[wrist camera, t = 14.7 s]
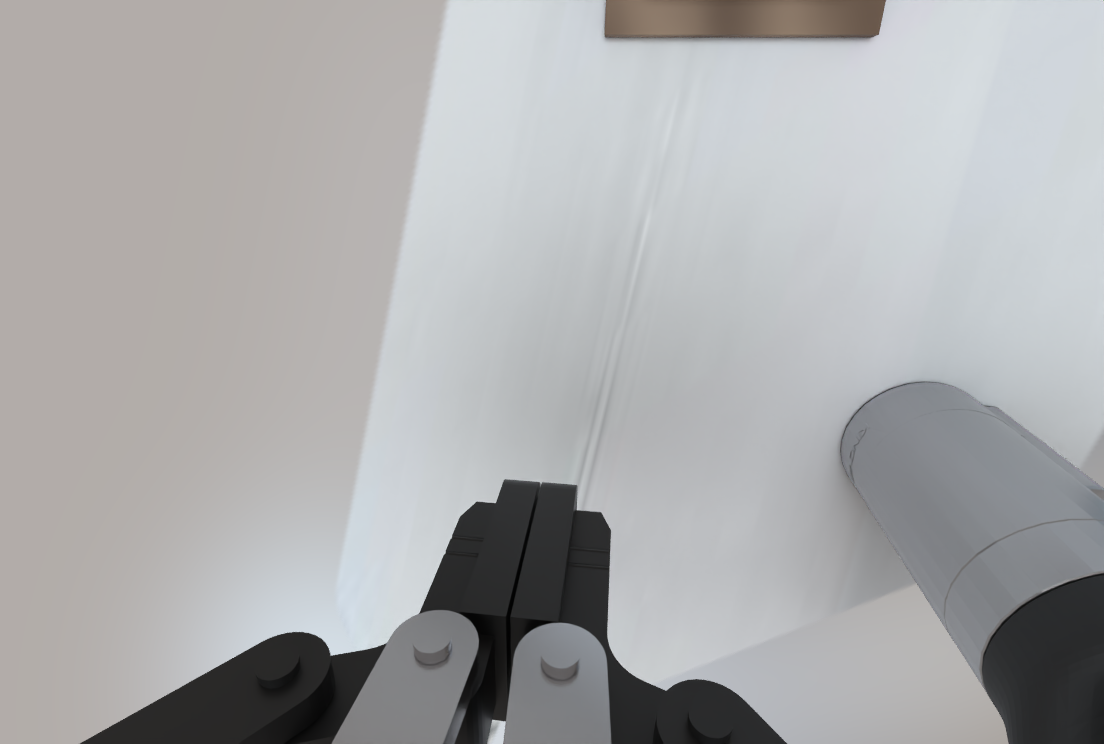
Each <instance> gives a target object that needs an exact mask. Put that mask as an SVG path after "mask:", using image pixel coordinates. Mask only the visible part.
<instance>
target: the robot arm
mask: <svg viewBox="0 0 1104 744" xmlns="http://www.w3.org/2000/svg"><path fill="white" fill-rule="evenodd" d="M841 456H842V463H843V466H844V468H845V470H846V472H847V474H848V476H849V478H850V479H851V481H852V482H853V484H854V485H855V487H856V489H857V490H858V492H859V493H860V495H861V496H862V498H863V500H864V501H865V503H866V504H867V506H868V508H869V509H870V511H871V513H872V514H873V516H874V517H875V519H876V520H877V522H878V524H879V525H880V527H881V528H882V530H883V531H884V533H885V534H886V536H887V538H888V539H889V541H890V542H891V544H892V545H893V547H894V549H895V550H896V552H897V553H898V555H899V556H900V558H901V560H902V561H903V563H904V564H905V566H906V567H907V569H908V570H909V572H910V574H911V575H912V577H913V578H914V580H915V581H916V583H917V585H918V586H919V588H920V589H921V591H922V592H923V594H924V595H925V597H926V599H927V600H928V602H929V603H930V605H931V606H932V608H933V610H934V611H935V613H936V614H937V616H938V617H939V619H940V621H941V622H942V624H943V625H944V627H945V628H946V630H947V632H948V633H949V635H950V636H951V638H952V639H953V641H954V642H955V643H956V645H957V647H958V648H959V650H960V652H961V653H962V655H963V656H964V657H965V659H966V661H967V662H968V664H969V666H970V667H971V669H972V670H973V672H974V673H975V675H976V677H977V678H978V680H979V681H980V683H981V684H982V686H983V688H984V689H985V690H986V692H987V694H988V696H989V697H990V699H991V701H992V702H993V704H994V705H995V707H996V708H997V710H998V712H999V714H1000V715H1001V717H1002V719H1003V721H1004V724H1005V727H1006V732H1007V737H1008V742H1009V744H1104V488H1103V487H1101V486H1100V485H1098V484H1097V483H1096V482H1095V481H1093V480H1092V479H1091V478H1090V477H1088V476H1087V475H1086V474H1084V473H1083V472H1082V471H1080V470H1079V469H1078V468H1076V467H1075V466H1074V465H1072V464H1071V463H1070V462H1069V461H1067V460H1066V459H1065V458H1063V457H1062V456H1061V455H1059V454H1058V453H1057V452H1055V451H1054V450H1053V449H1051V448H1050V447H1049V446H1047V445H1046V444H1045V443H1044V442H1042V441H1041V440H1040V439H1038V438H1037V437H1036V436H1034V435H1033V434H1032V433H1030V432H1029V431H1028V430H1026V429H1025V428H1024V427H1022V426H1021V425H1020V424H1019V423H1017V422H1016V421H1015V420H1013V419H1012V418H1011V417H1009V416H1008V415H1007V414H1005V413H1004V412H1003V411H1001V410H1000V409H999V408H997V407H987V406H983V405H982V404H980V403H979V402H978V401H977V400H975V399H974V398H973V397H972V396H970V395H969V394H968V393H966V392H964V391H962V390H960V389H958V388H956V387H953V386H949V385H946V384H942V383H930V382H922V383H913V384H907V385H903V386H900V387H896V388H893V389H891V390H888V391H886V392H884V393H882V394H880V395H878V396H877V397H875V398H874V399H872V400H871V401H869V402H868V403H867V404H865V405H864V406H863V407H862V408H861V409H860V410H859V411H858V412H857V413H856V414H855V415H854V417H853V419H852V420H851V422H850V423H849V425H848V426H847V428H846V431H845V433H844V436H843V439H842V446H841ZM610 539H611V530H610V528H609V526H608V524H607V522H606V521H605V519H604V517H603V515H602V513H601V512H590V511H579V510H577V485H568V484H556V483H544V482H542V484H541V486H540V482H530V481H518V480H506V479H505V480H504V482H503V484H502V487H501V490H500V493H499V496H498V499H497V502H496V503H485V502H476V503H475V504H474V505H473V506H472V507H470V508H469V509H468V510H467V511H466V512H465V513H464V514H463V515H462V516H460V518H459V521H458V523H457V525H456V528H455V530H454V533H453V535H452V539H451V540H450V542H449V544H448V547H447V549H446V554H444V556H443V559H442V561H441V563H440V566H439V568H438V570H437V573H436V575H435V578H434V580H433V582H432V585H431V587H430V589H429V592H428V594H427V597H426V599H425V601H424V604H423V606H422V608H421V611H420V613H419V614H418V615H415V616H413V617H411V618H410V619H408V620H406V621H405V622H404V623H402V624H401V625H400V626H399V627H398V628H397V629H396V630H395V631H394V633H393V634H392V636H391V637H390V639H389V641H388V642H387V643H386V644H384V645H381V646H378V647H376V648H372V649H367V650H362V651H356V652H351V653H344V654H339V655H333V656H330V652H329V648H328V646H327V645H326V643H325V642H324V641H323V640H322V639H321V638H319V637H317V636H316V635H312V634H309V633H304V632H292V633H285V634H281V635H277V636H274V637H272V638H269V639H267V640H265V641H263V642H261V643H259V644H258V645H256V646H254V647H252V648H250V649H249V650H247V651H245V652H243V653H241V654H240V655H238V656H236V657H234V658H232V659H231V660H229V661H227V662H225V663H224V664H222V665H220V666H218V667H216V668H214V669H213V670H211V671H209V672H207V673H205V674H204V675H202V676H200V677H198V678H196V679H195V680H193V681H191V682H189V683H188V684H186V685H184V686H182V687H181V688H179V689H177V690H175V691H173V692H171V693H170V694H168V695H166V696H164V697H162V698H161V699H159V700H157V701H155V702H154V703H152V704H150V705H148V706H146V707H145V708H143V709H141V710H139V711H138V712H136V713H134V714H132V715H130V716H128V717H127V718H125V719H123V720H121V721H120V722H118V723H116V724H114V725H112V726H111V727H109V728H107V729H105V730H103V731H102V732H100V733H98V734H96V735H94V736H93V737H91V738H89V739H88V740H86V741H84V742H82V743H80V744H487V740H488V736H489V732H490V727H491V723H492V720H499V721H506V725H505V733H504V742H503V744H787V743H786V742H785V741H784V740H783V739H782V738H781V737H780V736H779V735H778V734H777V733H776V732H775V731H774V730H773V729H772V728H771V727H770V726H769V725H768V724H767V723H766V722H765V721H764V720H763V719H762V718H761V717H760V716H759V715H758V714H757V713H756V712H755V711H754V710H753V709H752V708H751V707H750V706H749V705H748V704H747V703H746V702H745V701H744V700H743V699H742V698H741V697H740V696H739V695H737V694H736V693H735V692H733V691H732V690H730V689H728V688H727V687H725V686H723V685H720V684H718V683H715V682H711V681H706V680H698V679H695V680H687V681H683V682H680V683H677V684H675V685H673V686H672V687H671V688H669V689H668V690H667V691H665V690H663V689H660V688H658V687H656V686H653V685H651V684H649V683H646V682H644V681H642V680H640V679H638V678H636V677H635V676H633V675H632V674H630V673H629V672H628V671H627V670H626V669H624V668H623V667H622V666H621V665H620V663H619V662H618V661H617V660H616V658H615V657H614V655H613V654H612V651H611V649H610V647H609V643H608V639H607V621H608V594H609V566H610Z"/></svg>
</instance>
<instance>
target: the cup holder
mask: <svg viewBox="0 0 1104 744" xmlns="http://www.w3.org/2000/svg"><path fill="white" fill-rule="evenodd" d="M885 2H886V0H606V17H605V37H873V36H876V35H879V31H880V26H881V21H882V16H883V11H884V6H885Z"/></svg>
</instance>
